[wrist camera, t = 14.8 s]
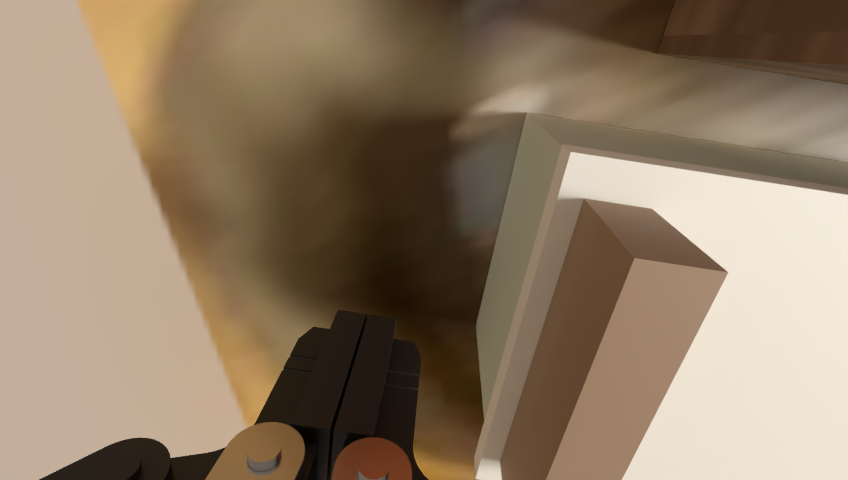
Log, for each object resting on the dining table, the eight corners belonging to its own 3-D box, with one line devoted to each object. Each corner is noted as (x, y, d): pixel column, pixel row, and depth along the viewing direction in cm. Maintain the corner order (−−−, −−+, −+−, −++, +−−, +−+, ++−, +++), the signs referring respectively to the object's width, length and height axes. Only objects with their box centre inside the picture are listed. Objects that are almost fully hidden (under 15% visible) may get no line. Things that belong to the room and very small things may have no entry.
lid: (1183, 240, 10) (1551, 340, 7) (902, 521, 15) (1036, 664, 12) (561, 143, 10) (619, 196, 7) (474, 457, 15) (481, 583, 11)
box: (882, 168, 17) (1139, 243, 11) (759, 368, 21) (888, 505, 15) (526, 112, 17) (571, 155, 11) (475, 325, 21) (486, 445, 15)
